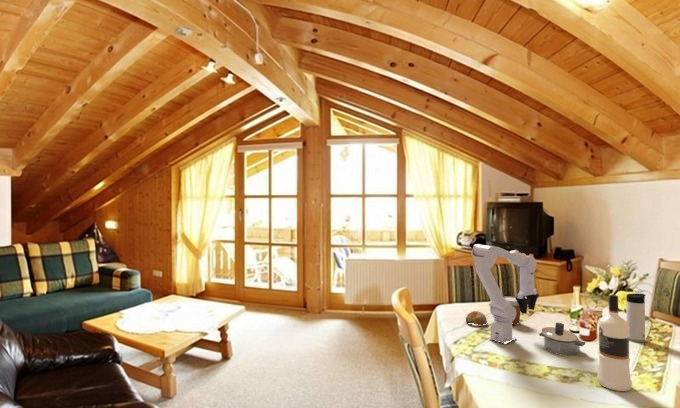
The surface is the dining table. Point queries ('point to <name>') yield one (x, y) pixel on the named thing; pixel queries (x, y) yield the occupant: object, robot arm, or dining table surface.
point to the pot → (562, 346)
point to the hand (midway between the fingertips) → (527, 311)
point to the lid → (559, 333)
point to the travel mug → (636, 317)
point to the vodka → (614, 350)
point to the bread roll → (476, 318)
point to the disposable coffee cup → (516, 306)
